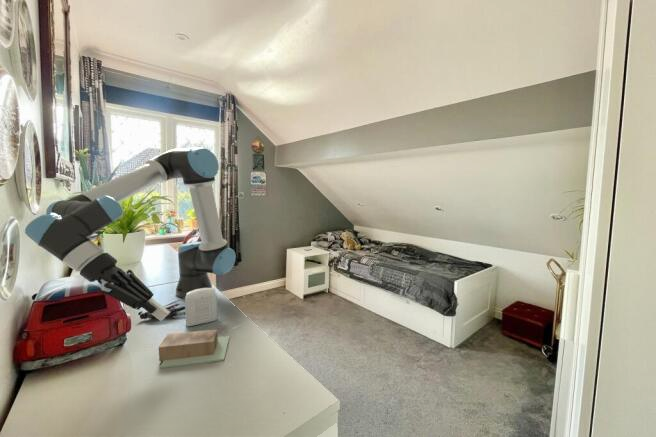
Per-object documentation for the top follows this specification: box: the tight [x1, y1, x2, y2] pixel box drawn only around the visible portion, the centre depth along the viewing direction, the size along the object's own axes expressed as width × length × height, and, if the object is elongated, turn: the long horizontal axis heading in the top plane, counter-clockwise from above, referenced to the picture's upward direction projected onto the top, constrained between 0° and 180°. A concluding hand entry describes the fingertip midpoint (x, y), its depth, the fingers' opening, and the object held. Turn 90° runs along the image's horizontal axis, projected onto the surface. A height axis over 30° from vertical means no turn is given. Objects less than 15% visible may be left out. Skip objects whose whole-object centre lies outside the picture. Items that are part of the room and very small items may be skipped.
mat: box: [159, 335, 231, 369], centre depth 80 cm, size 12×16×1 cm
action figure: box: [137, 299, 186, 320], centre depth 101 cm, size 8×6×18 cm
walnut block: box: [158, 328, 219, 362], centre depth 79 cm, size 7×4×14 cm
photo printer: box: [184, 287, 218, 327], centre depth 97 cm, size 10×4×12 cm, turn 123°
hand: (165, 316), depth 77 cm, fingers closed
